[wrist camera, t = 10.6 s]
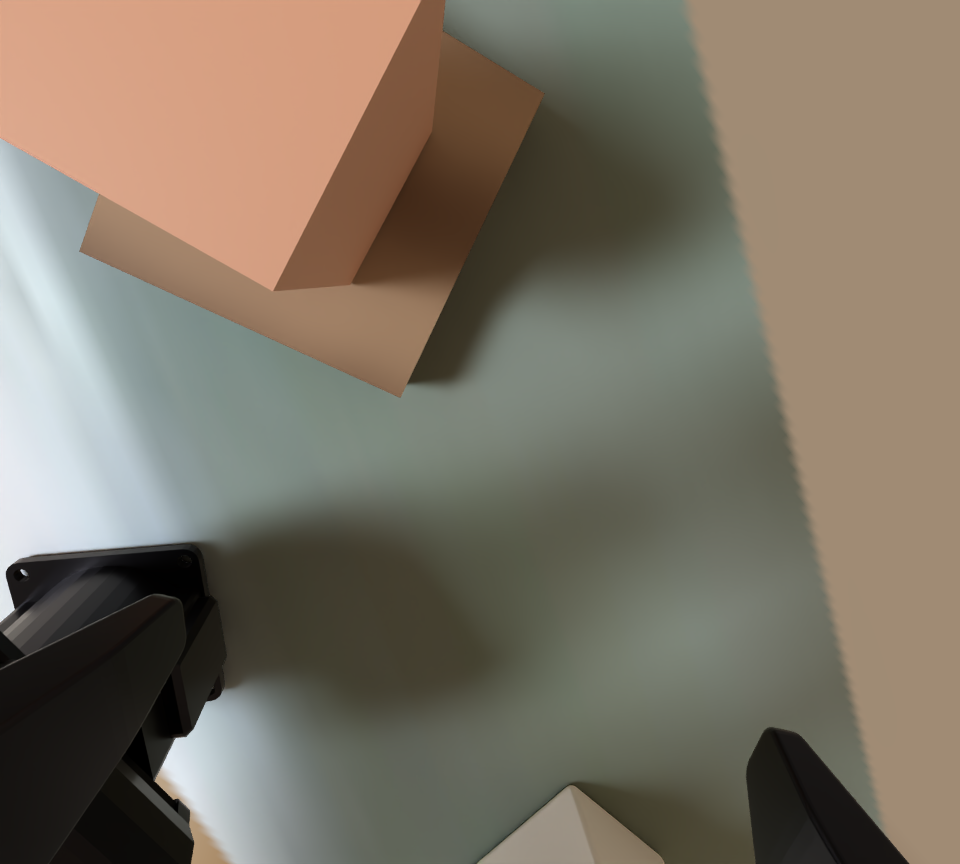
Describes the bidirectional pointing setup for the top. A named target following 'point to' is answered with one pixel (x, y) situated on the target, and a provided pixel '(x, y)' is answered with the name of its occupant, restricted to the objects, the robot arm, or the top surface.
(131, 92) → the terracotta block
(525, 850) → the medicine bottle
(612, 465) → the top surface
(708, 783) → the top surface
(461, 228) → the walnut block
